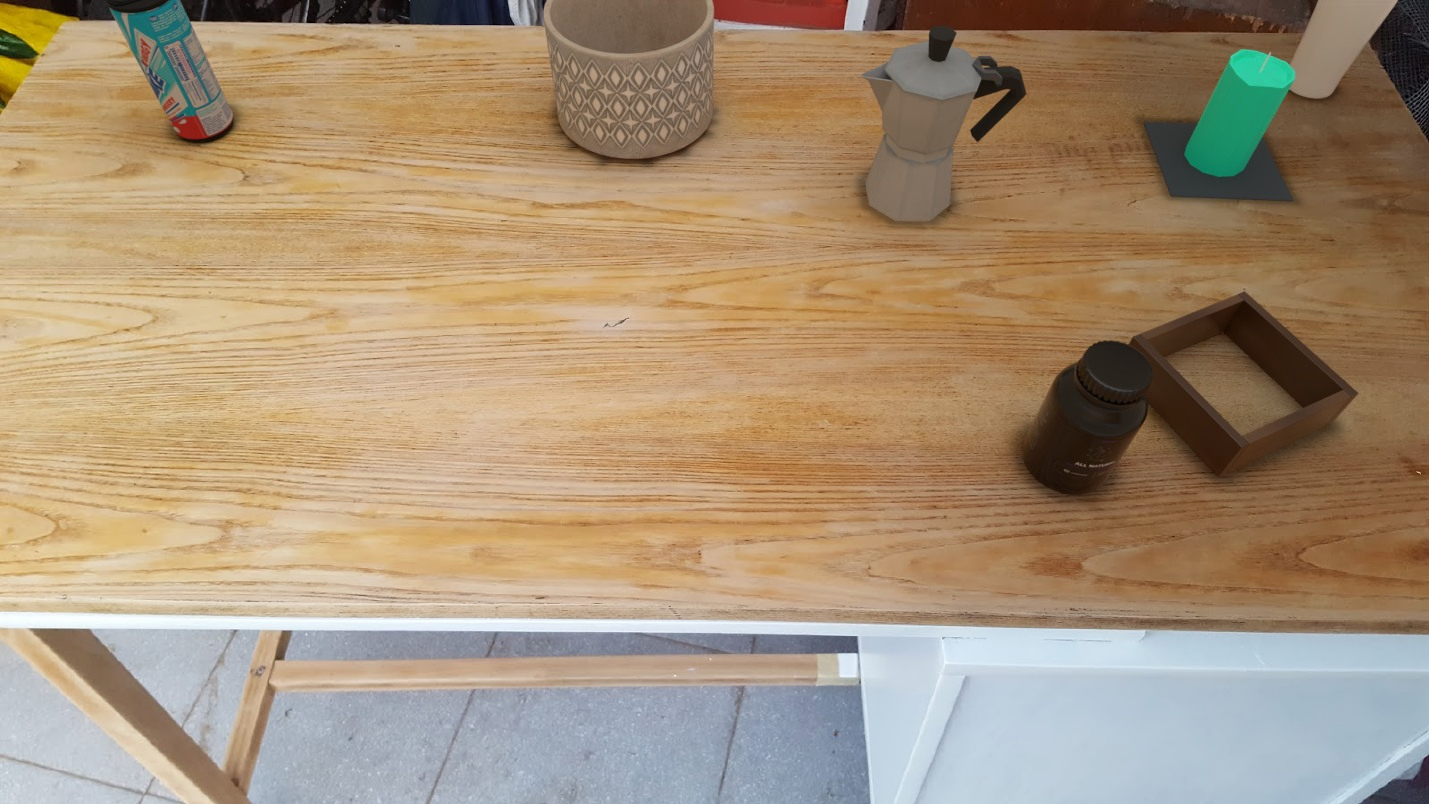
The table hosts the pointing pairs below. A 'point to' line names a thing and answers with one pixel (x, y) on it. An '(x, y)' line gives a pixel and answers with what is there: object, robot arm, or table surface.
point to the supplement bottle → (1089, 418)
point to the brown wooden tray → (1271, 352)
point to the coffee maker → (929, 121)
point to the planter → (632, 73)
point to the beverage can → (175, 66)
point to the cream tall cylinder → (1334, 43)
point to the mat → (1190, 182)
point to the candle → (1239, 112)
